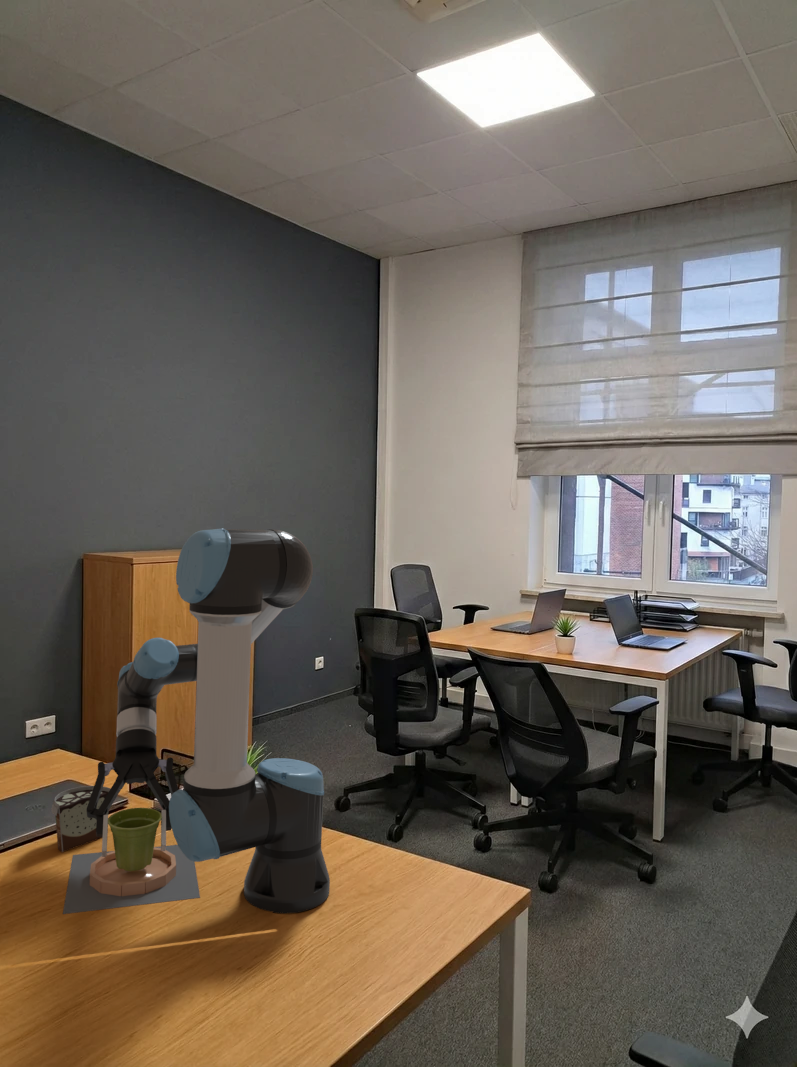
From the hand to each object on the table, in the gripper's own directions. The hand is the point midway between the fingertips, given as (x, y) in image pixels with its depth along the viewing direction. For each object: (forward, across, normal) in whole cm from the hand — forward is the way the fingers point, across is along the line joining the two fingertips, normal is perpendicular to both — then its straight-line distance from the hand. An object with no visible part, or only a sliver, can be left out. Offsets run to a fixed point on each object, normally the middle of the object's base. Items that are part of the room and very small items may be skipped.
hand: (134, 850), depth 140 cm
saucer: (+2, 0, -6) cm, 7 cm away
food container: (-10, +11, -20) cm, 25 cm away
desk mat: (+2, 0, -7) cm, 7 cm away
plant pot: (+1, 0, -5) cm, 5 cm away
